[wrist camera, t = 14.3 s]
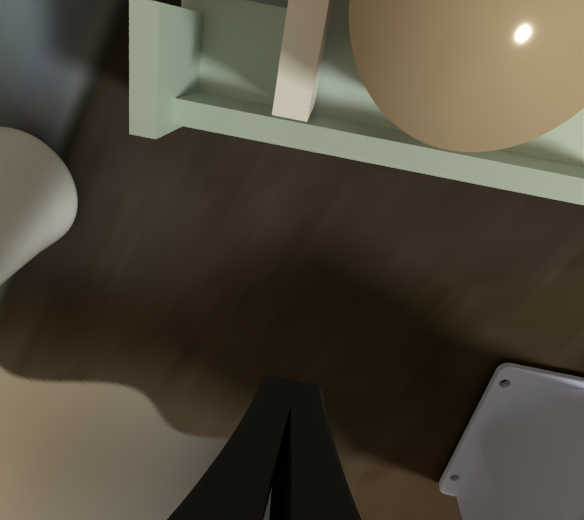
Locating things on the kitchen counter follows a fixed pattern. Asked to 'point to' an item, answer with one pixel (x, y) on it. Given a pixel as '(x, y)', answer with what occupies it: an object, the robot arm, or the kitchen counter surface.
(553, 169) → the pale green shallow tray
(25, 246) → the drinking glass
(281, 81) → the pusher
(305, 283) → the kitchen counter surface
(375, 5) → the jar
